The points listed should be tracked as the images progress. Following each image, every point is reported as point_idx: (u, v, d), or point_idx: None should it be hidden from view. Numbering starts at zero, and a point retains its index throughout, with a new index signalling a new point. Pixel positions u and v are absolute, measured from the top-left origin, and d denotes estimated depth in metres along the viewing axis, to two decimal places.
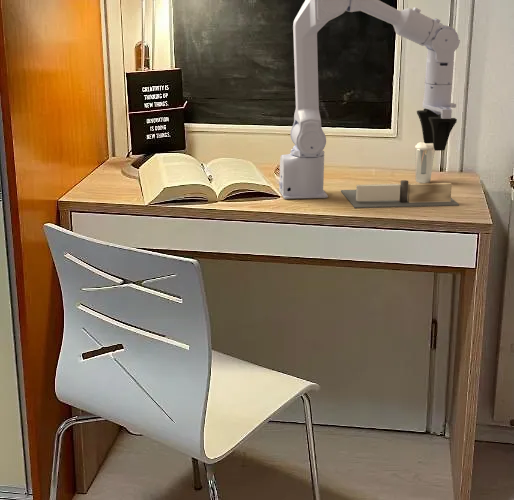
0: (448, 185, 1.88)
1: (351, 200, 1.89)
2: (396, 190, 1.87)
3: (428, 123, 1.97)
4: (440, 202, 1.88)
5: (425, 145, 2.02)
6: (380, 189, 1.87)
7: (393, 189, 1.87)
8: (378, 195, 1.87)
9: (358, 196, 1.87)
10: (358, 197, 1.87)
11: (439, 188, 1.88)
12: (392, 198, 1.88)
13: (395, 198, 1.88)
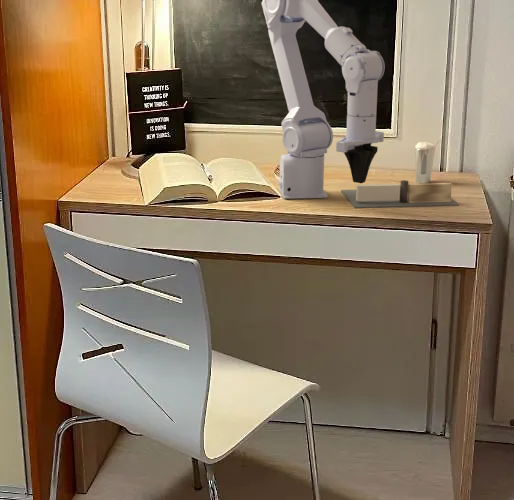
0: (448, 185, 1.88)
1: (351, 200, 1.89)
2: (396, 190, 1.87)
3: None
4: (440, 202, 1.88)
5: (425, 145, 2.02)
6: (380, 189, 1.87)
7: (393, 189, 1.87)
8: (378, 195, 1.87)
9: (358, 196, 1.87)
10: (358, 197, 1.87)
11: (439, 188, 1.88)
12: (392, 198, 1.88)
13: (395, 198, 1.88)
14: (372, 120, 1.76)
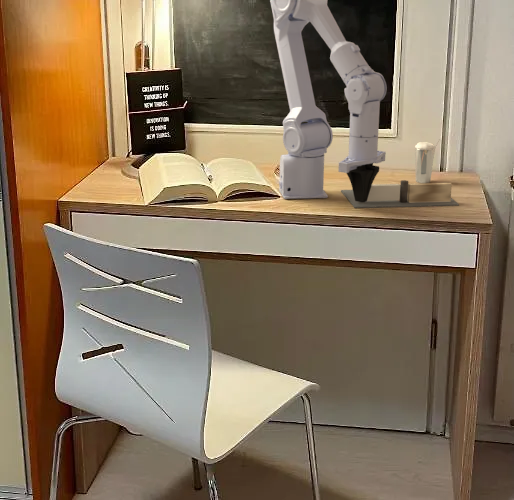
0: (448, 185, 1.88)
1: (351, 200, 1.89)
2: (396, 190, 1.87)
3: None
4: (440, 202, 1.88)
5: (425, 145, 2.02)
6: (380, 189, 1.87)
7: (393, 189, 1.87)
8: (378, 195, 1.87)
9: None
10: None
11: (439, 188, 1.88)
12: (392, 198, 1.88)
13: (395, 198, 1.88)
14: (374, 141, 1.78)
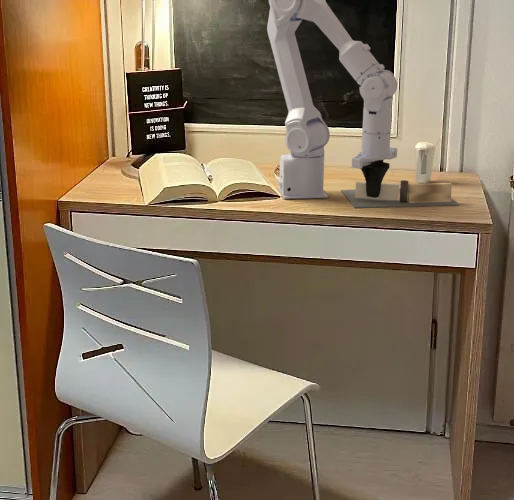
0: (448, 185, 1.88)
1: (351, 200, 1.89)
2: (395, 189, 1.88)
3: (370, 176, 1.86)
4: (440, 202, 1.88)
5: (425, 145, 2.02)
6: None
7: (392, 188, 1.88)
8: None
9: (356, 193, 1.89)
10: (356, 194, 1.89)
11: (439, 188, 1.88)
12: (391, 197, 1.88)
13: (394, 197, 1.88)
14: (386, 137, 1.82)
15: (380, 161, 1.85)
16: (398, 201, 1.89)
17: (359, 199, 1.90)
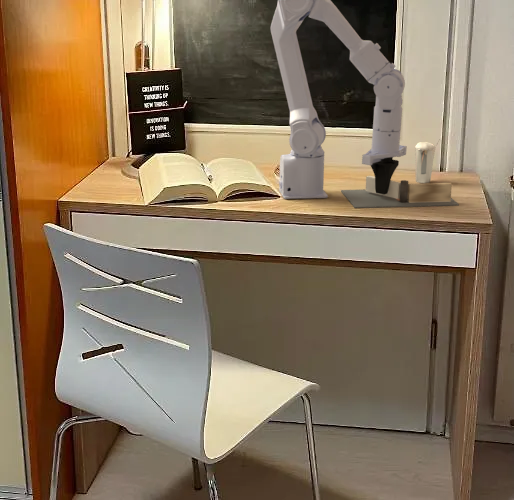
0: (448, 185, 1.88)
1: (351, 200, 1.89)
2: (395, 188, 1.89)
3: (380, 173, 1.89)
4: (440, 202, 1.88)
5: (425, 145, 2.02)
6: None
7: (393, 186, 1.89)
8: None
9: (366, 186, 1.95)
10: (366, 187, 1.95)
11: (439, 188, 1.88)
12: (392, 195, 1.90)
13: (394, 196, 1.89)
14: (397, 135, 1.85)
15: (389, 158, 1.89)
16: (398, 201, 1.89)
17: (359, 199, 1.90)
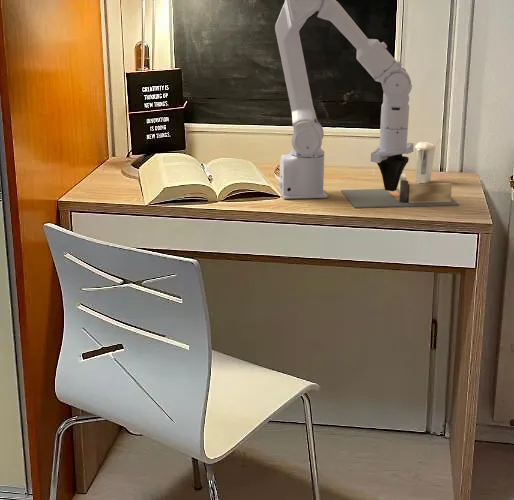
0: (448, 185, 1.88)
1: (351, 200, 1.89)
2: None
3: None
4: (440, 202, 1.88)
5: (425, 145, 2.02)
6: (400, 182, 1.93)
7: None
8: None
9: (399, 183, 1.97)
10: (399, 184, 1.98)
11: (439, 188, 1.88)
12: None
13: None
14: (404, 132, 1.87)
15: (399, 155, 1.91)
16: (398, 201, 1.89)
17: (359, 199, 1.90)
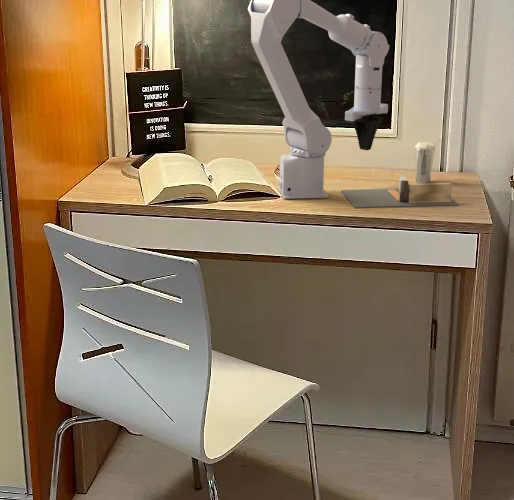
0: (448, 185, 1.88)
1: (351, 200, 1.89)
2: None
3: None
4: (440, 202, 1.88)
5: (425, 145, 2.02)
6: (400, 182, 1.93)
7: None
8: None
9: (399, 183, 1.97)
10: (399, 184, 1.98)
11: (439, 188, 1.88)
12: None
13: None
14: (377, 92, 1.94)
15: (373, 115, 1.98)
16: (398, 201, 1.89)
17: (359, 199, 1.90)
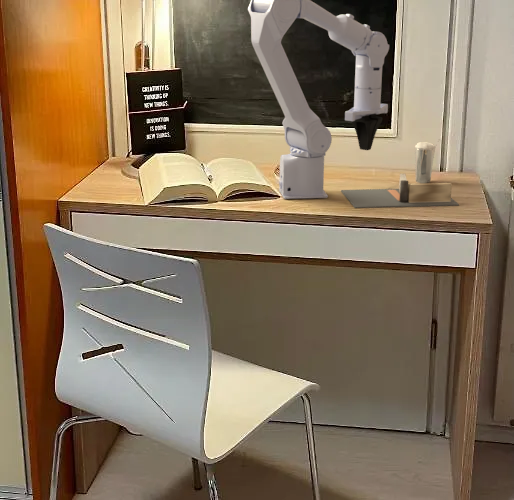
0: (448, 185, 1.88)
1: (351, 200, 1.89)
2: None
3: None
4: (440, 202, 1.88)
5: (425, 145, 2.03)
6: (400, 182, 1.93)
7: None
8: None
9: (399, 183, 1.97)
10: (399, 184, 1.98)
11: (439, 188, 1.88)
12: None
13: None
14: (377, 92, 1.94)
15: (373, 115, 1.98)
16: (398, 201, 1.89)
17: (359, 199, 1.90)
